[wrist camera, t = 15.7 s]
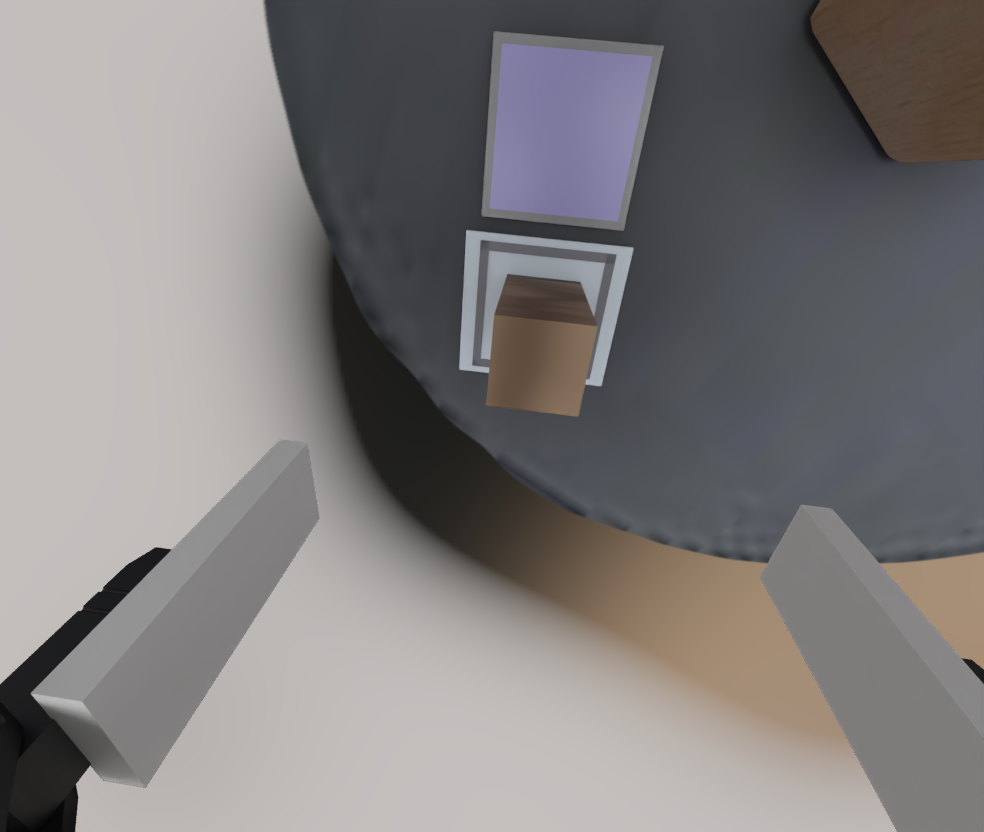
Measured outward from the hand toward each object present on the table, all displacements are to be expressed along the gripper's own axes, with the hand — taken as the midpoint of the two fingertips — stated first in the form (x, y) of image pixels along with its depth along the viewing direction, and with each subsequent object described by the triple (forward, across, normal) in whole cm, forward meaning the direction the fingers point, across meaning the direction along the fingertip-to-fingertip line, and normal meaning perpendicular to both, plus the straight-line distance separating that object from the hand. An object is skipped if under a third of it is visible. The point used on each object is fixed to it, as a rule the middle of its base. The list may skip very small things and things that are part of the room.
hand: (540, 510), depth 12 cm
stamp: (+21, 0, -1) cm, 21 cm away
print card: (+22, 0, -1) cm, 22 cm away
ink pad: (+22, 0, +10) cm, 24 cm away
